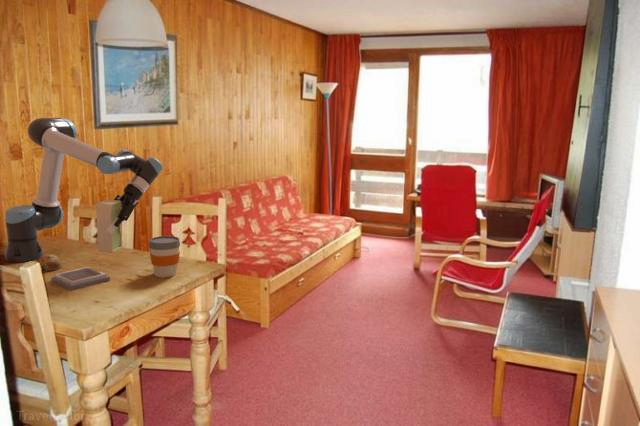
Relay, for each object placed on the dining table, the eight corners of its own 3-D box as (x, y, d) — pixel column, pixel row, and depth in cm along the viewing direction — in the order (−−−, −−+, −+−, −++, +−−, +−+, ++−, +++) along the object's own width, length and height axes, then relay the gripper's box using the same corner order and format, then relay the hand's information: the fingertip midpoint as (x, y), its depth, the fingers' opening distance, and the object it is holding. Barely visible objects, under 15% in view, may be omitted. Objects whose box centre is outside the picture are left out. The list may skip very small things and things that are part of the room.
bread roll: (61, 277, 218) (68, 260, 219) (37, 272, 210) (44, 254, 211) (52, 272, 224) (59, 255, 225) (29, 267, 217) (36, 249, 218)
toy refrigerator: (113, 253, 211) (111, 204, 207) (97, 251, 212) (95, 202, 208) (124, 248, 219) (123, 200, 214) (109, 246, 220) (107, 199, 216)
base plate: (51, 280, 203) (50, 274, 202) (90, 271, 215) (89, 265, 215) (70, 290, 193) (69, 283, 193) (110, 280, 205) (109, 273, 205)
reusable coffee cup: (186, 274, 215) (185, 240, 212) (157, 280, 206) (156, 245, 203) (173, 267, 224) (171, 234, 221) (145, 272, 216) (143, 238, 213)
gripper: (156, 197, 216) (123, 239, 207) (128, 190, 229) (96, 230, 221) (144, 186, 211) (110, 229, 202) (116, 180, 224) (83, 220, 215)
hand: (102, 229), depth 211 cm, fingers closed on toy refrigerator, 9 cm apart
